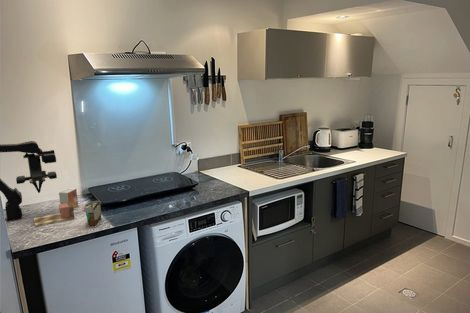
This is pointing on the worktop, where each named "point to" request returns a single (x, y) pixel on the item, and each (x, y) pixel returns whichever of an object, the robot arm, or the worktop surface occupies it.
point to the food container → (93, 212)
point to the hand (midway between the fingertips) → (39, 192)
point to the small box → (69, 197)
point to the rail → (54, 217)
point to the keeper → (64, 210)
